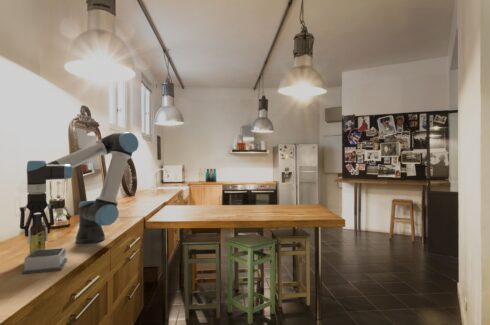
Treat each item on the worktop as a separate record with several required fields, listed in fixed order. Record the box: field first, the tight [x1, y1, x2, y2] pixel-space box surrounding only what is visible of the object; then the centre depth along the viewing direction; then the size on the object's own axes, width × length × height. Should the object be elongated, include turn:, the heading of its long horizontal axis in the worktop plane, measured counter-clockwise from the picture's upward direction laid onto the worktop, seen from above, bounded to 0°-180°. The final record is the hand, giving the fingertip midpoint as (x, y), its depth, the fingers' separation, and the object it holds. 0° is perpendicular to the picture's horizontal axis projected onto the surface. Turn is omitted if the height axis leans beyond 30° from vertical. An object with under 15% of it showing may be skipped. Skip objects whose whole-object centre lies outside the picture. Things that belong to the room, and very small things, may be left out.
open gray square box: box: [21, 247, 69, 275], centre depth 138 cm, size 14×14×6 cm
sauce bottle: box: [29, 213, 46, 254], centre depth 150 cm, size 7×6×20 cm
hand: (37, 241), depth 150 cm, fingers closed on sauce bottle, 6 cm apart
